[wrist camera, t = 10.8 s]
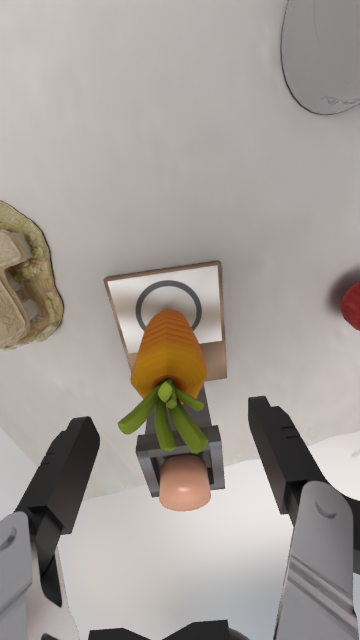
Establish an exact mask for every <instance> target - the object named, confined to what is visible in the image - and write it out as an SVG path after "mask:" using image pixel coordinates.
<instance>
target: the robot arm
mask: <svg viewBox="0 0 360 640" xmlns="http://www.w3.org/2000/svg"><path fill="white" fill-rule="evenodd" d="M281 53H282V63H283V70H284V73H285V77H286V81H287V84H288V86H289V88H290V90H291V92H292V94H293V96H294V97H295V98H296V99H297V100H298V101H299V103H300V104H301V105H302V106H304V107H305V108H307V109H309V110H310V111H312V112H316V113H319V114H335V113H339V112H342V111H345V110H347V109H349V108H351V107H353V106H355V105H356V104H358V103H360V0H289V3H288V6H287V9H286V14H285V19H284V24H283V29H282V45H281ZM248 421H249V426H250V430H251V433H252V436H253V438H254V441H255V444H256V447H257V450H258V452H259V455H260V458H261V461H262V463H263V466H264V469H265V472H266V475H267V478H268V480H269V483H270V486H271V489H272V492H273V494H274V497H275V500H276V503H277V506H278V508H279V511H280V514H289V516H290V519H291V521H292V524H293V526H294V528H293V534H292V539H291V544H290V550H289V556H288V561H287V566H286V572H285V578H284V583H283V588H282V594H281V599H280V604H279V609H278V614H277V619H276V625H275V630H274V636H273V640H359V636H358V635H359V634H358V623H357V616H356V614H355V611H354V607H353V572H354V573H357V574H359V575H360V501H358V500H354V499H351V498H349V497H347V496H345V495H343V494H342V493H340V492H339V491H337V490H336V489H335V488H334V487H333V486H332V485H331V484H330V483H329V482H328V481H327V480H326V479H325V477H324V476H323V474H322V472H321V471H320V469H319V467H318V465H317V464H316V462H315V460H314V459H313V457H312V455H311V453H310V451H309V450H308V448H307V446H306V445H305V443H304V441H303V439H302V438H301V437H300V434H299V432H298V431H297V429H296V428H295V425H294V424H293V422H292V420H291V418H290V417H289V415H288V414H287V413H286V412H285V411H284V410H282V409H281V408H280V407H279V406H275V407H271V406H270V404H269V402H268V400H267V398H266V397H265V396H257V397H249V399H248ZM99 445H100V437H99V434H98V432H97V430H96V428H95V425H94V423H93V421H92V419H91V418H90V417H89V416H87V417H79V418H73V419H72V420H71V421H70V423H69V425H68V427H67V429H66V431H62V432H61V433H60V434H59V435H58V436H57V437H56V438H55V439H54V441H53V442H52V443H51V445H50V447H49V449H48V451H47V453H46V456H44V458H43V460H42V462H41V465H40V466H39V467H38V469H37V471H36V473H35V475H34V477H33V479H32V481H31V482H30V484H29V486H28V488H27V490H26V491H25V493H24V495H23V497H22V499H21V501H20V503H19V505H18V506H17V508H16V509H15V511H14V513H12V514H10V515H8V516H7V517H6V518H4V519H3V520H1V521H0V640H80V639H79V634H78V630H77V626H76V624H75V621H74V618H73V616H72V615H71V612H70V610H69V606H68V602H67V596H66V591H65V585H64V579H63V573H62V568H61V562H60V557H59V551H58V547H57V544H58V541H59V538H60V535H64V534H71V533H72V530H73V527H74V523H75V520H76V517H77V514H78V511H79V508H80V505H81V502H82V499H83V496H84V493H85V490H86V487H87V483H88V480H89V477H90V474H91V471H92V468H93V465H94V462H95V459H96V456H97V453H98V450H99ZM88 640H150V639H148V638H145V637H143V636H141V635H138V634H136V633H134V632H131V631H129V630H127V629H124V628H116V629H103V630H90V633H89V638H88ZM162 640H250V639H249V638H247V637H246V636H244V635H243V634H241V633H239V632H238V631H236V630H233V629H231V628H229V627H228V621H227V620H217V621H204V622H193V623H191V624H189V625H187V626H186V627H184V628H182V629H180V630H179V631H177V632H175V633H173V634H171V635H170V636H168V637H166V638H164V639H162Z"/></svg>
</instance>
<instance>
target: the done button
mask: <svg viewBox="0 0 360 640" xmlns="http://www.w3.org/2000/svg"><path fill="white" fill-rule="evenodd" d="M210 498H211V493H210V486H209V479H208V472H207V466H206V463H205V461H204V460H203V459H201V458H200V457H197V456H194V455H189V454H182V455H176V456H173V457H170V458H168V459H167V460H165V461H164V462H163V464H162V465H161V470H160V493H159V500H160V502H161V504H162V505H163V506H164V507H166V508H168V509H171V510H174V511H191V510H195V509H198V508H200V507H203V506H204V505H206V504H207V503H208V502H209V500H210Z"/></svg>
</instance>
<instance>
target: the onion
mask: <svg viewBox="0 0 360 640" xmlns="http://www.w3.org/2000/svg"><path fill="white" fill-rule="evenodd" d="M341 311H342V315H343V317H344V319H345V320H346V321H347V322H348V323H349V324H351V325H352V326H353V327H354V328H355V329H357V330H359V331H360V281H359V282H357V283H356V284H355V285H353V286H352V287H350V288H349V289H348V290H347V292H346V293H345V294H344V297H343V300H342V303H341Z"/></svg>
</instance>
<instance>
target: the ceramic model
mask: <svg viewBox="0 0 360 640" xmlns="http://www.w3.org/2000/svg"><path fill="white" fill-rule="evenodd" d="M62 314H63V303H62V300H61V298H60V296H59V294H58V292H57V290H56V288H55V285H54V278H53V275H52V270H51V262H50V255H49V249H48V246H47V244H46V242H45V239H44V237H43V235H42V232H41V231H40V230H39V228H38V227H37V226H36V225H35V224H34V223H33V222H32V221H31V220H30V219H28V218H25V216H24V215H22V214H21V213H19V212H17V211H16V210H15V209H14V208H13V207H11V206H9V205H8V204H6V203H4V202H2V201H0V349H3V350H14V349H16V348H17V347H19V346H22V345H24V344H29V343H30V342H41V341H44V340H46V339H47V338H48V337H49V336H51V335H52V333H53V332H54V331H55V330H56V329H57V327H58V325H59V324H60V322H61V319H62Z"/></svg>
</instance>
